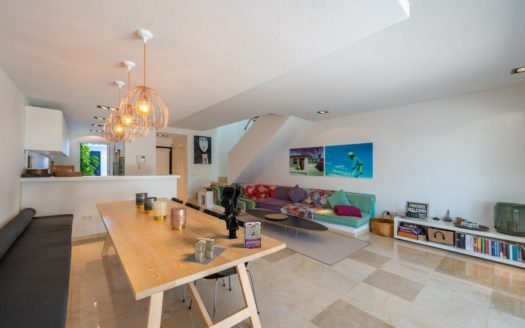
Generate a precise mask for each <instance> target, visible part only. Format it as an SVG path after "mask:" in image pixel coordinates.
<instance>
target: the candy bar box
mask: <svg viewBox="0 0 525 328" xmlns="http://www.w3.org/2000/svg"><path fill="white" fill-rule="evenodd" d="M243 247H244V249H260V248H262V223H261V221H250V222H249V221H248V222H243Z"/></svg>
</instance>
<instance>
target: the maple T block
mask: <svg viewBox="0 0 525 328" xmlns="http://www.w3.org/2000/svg"><path fill="white" fill-rule="evenodd" d="M195 241H196V242H195V243H194V244H195V248H194V249H195V250H194V253H195V261H199V262H201V261H202V260H204V259H205V258H210V259H211V258H212V257H214V247H215V239H214V238H213V239H212V238H207V237H206V238H205V237H198V238H196V240H195Z"/></svg>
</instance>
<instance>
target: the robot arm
mask: <svg viewBox="0 0 525 328" xmlns="http://www.w3.org/2000/svg"><path fill="white" fill-rule="evenodd" d="M242 191H243V190H242V187H241V186H240V185H239V184H238V183H231V184H230V185H229V186H224V187H223V189H222V194H221V197H222V198H223V199H221V201H220V205H221V206H222V207H223V208H224V211H223V213H220V214H219V215H218V220H224V222H225V227H226V228H225V229H226V231H228V235H227V238H228V239H229V240H232V239H238V236H237V231H239V230H240V225H239V221H238V218H237V217H239V216H240V215H241V213H242V208H241V207H238V203H239V199H240V198H241V197H242V196H241V195H242Z"/></svg>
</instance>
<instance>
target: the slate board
mask: <svg viewBox="0 0 525 328" xmlns="http://www.w3.org/2000/svg"><path fill="white" fill-rule="evenodd" d="M226 250H227V248H226V247H219V246H214V257H212V258H211V259H210V258H205V259H204V260H202V261H201V262H199V261H195V252H193V253H192V254H190V255H188V256H186V257H185V258H183V259H182V261H184V262H188V263H194V264H201V265H205V266H207V265H208V264H210V263H211V262H212V261H214V260H215V259H216V258H217V257H219V256H220V255H221V254H222V253H223V252H225V251H226Z"/></svg>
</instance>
